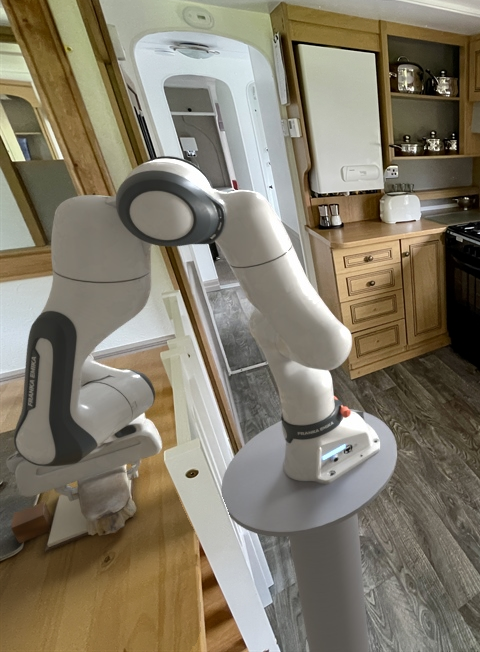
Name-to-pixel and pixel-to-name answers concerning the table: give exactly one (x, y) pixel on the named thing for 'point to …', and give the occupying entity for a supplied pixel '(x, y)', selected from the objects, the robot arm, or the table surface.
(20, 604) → the table surface
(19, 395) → the table surface
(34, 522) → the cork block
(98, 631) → the table surface
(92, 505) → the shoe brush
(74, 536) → the tile
